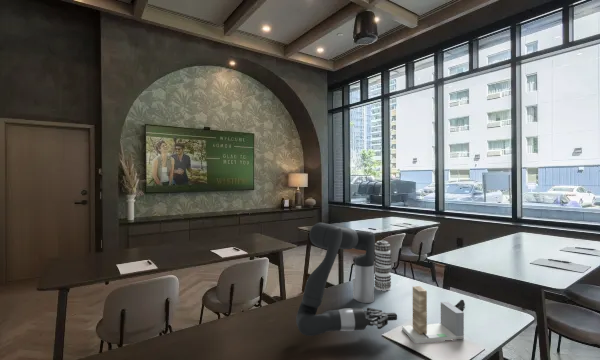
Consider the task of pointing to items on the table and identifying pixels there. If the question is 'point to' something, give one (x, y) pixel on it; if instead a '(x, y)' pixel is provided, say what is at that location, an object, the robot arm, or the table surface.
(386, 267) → the decorative candle
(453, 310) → the base
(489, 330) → the table surface
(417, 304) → the tan rectangular box
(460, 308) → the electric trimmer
